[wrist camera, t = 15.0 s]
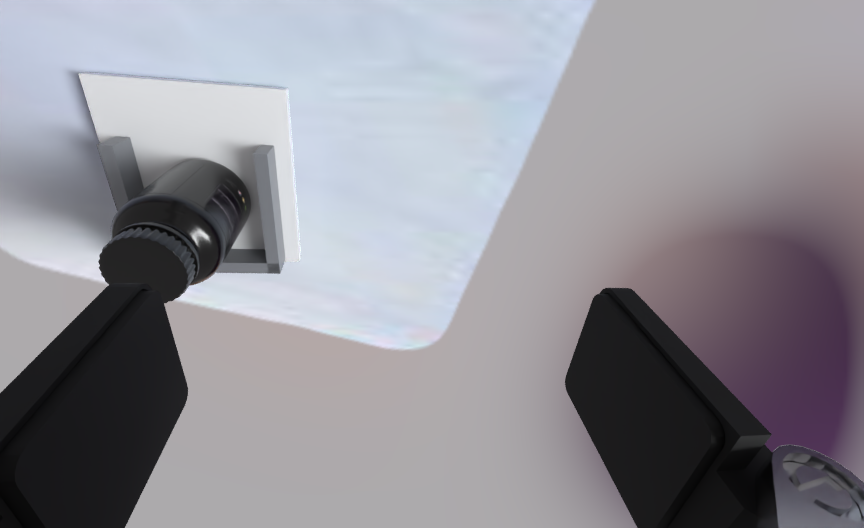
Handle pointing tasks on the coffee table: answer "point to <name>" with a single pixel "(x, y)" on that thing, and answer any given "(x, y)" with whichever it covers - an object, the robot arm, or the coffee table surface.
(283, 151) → the cradle tray
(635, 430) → the robot arm
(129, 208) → the supplement bottle
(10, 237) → the coffee table surface
